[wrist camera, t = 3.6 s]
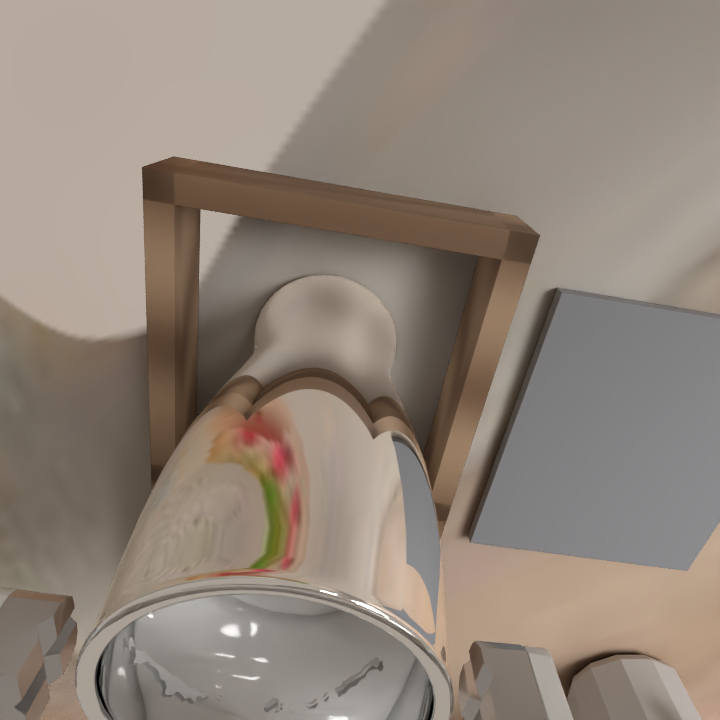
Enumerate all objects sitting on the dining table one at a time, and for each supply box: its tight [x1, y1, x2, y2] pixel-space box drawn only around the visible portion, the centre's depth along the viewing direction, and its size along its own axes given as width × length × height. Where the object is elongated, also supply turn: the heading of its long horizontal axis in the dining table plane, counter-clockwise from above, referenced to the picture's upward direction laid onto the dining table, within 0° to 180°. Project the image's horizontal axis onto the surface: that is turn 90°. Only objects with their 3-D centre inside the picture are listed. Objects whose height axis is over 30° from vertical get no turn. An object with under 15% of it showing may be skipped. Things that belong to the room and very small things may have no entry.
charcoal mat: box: [468, 288, 720, 571], centre depth 24 cm, size 14×12×1 cm
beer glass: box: [75, 275, 454, 720], centre depth 16 cm, size 7×7×15 cm
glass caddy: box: [142, 157, 540, 539], centre depth 24 cm, size 25×13×3 cm, turn 171°
